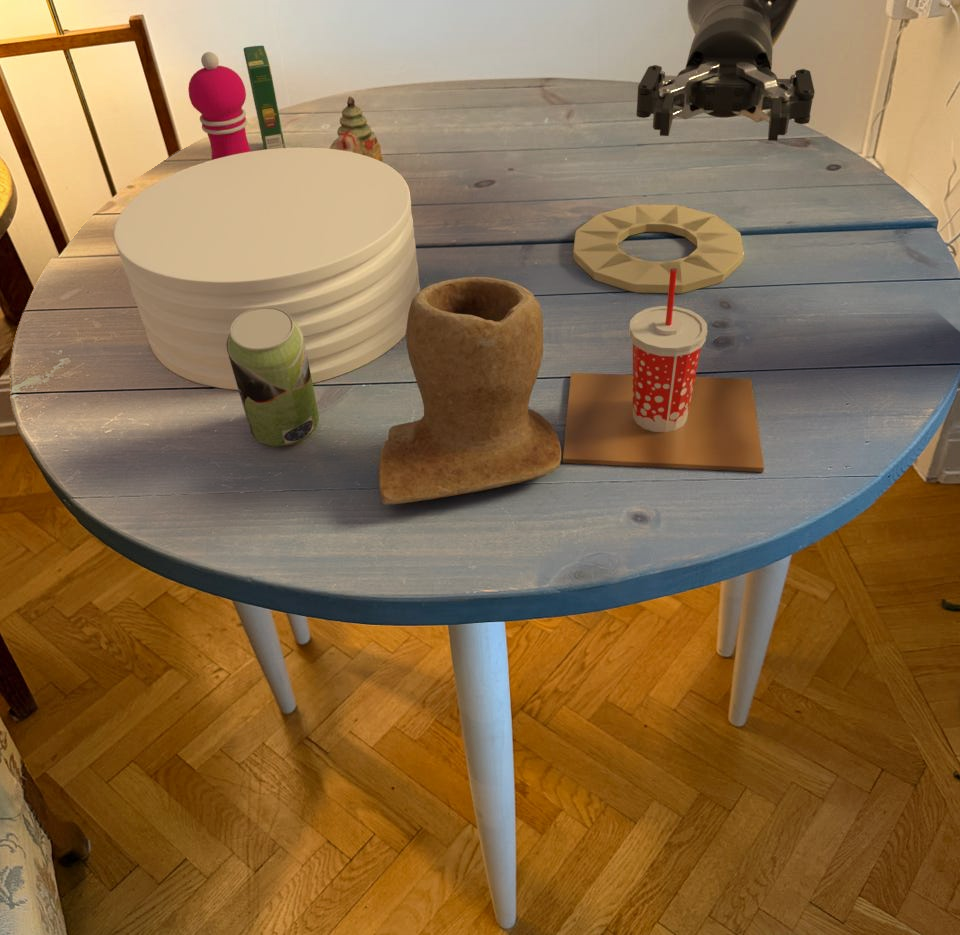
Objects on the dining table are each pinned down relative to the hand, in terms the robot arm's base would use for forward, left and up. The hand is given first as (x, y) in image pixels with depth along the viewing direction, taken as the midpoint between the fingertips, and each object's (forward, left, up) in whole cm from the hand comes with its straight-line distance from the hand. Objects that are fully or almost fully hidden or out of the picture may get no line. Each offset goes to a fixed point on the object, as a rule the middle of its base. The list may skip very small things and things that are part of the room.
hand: (719, 126), depth 74 cm
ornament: (+41, -36, -21) cm, 59 cm away
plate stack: (+41, -4, -21) cm, 46 cm away
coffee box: (+54, -43, -21) cm, 72 cm away
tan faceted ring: (+3, -18, -21) cm, 28 cm away
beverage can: (+35, +16, -21) cm, 44 cm away
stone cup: (+19, +18, -21) cm, 34 cm away
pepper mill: (+51, -22, -21) cm, 60 cm away
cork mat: (+3, +12, -21) cm, 24 cm away
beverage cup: (+3, +12, -21) cm, 24 cm away
